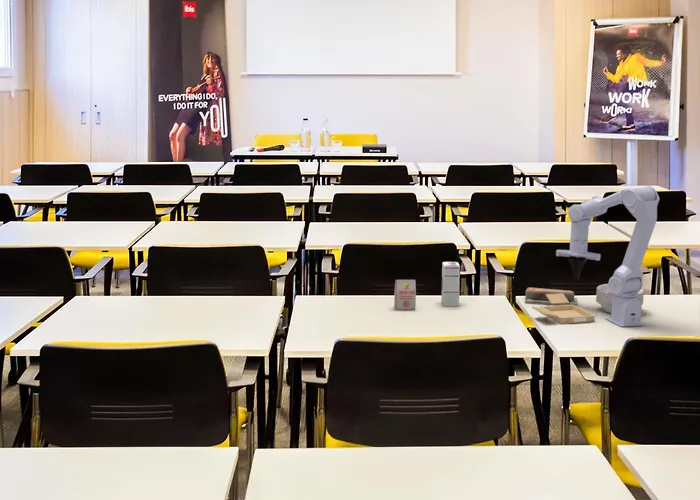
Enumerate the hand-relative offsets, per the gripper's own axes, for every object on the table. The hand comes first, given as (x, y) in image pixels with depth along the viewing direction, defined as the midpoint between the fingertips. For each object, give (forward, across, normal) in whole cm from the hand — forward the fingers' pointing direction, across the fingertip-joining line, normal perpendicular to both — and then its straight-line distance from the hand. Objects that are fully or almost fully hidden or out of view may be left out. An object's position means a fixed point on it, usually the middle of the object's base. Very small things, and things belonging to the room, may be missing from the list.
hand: (576, 278), depth 289 cm
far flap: (+8, -3, -8) cm, 11 cm away
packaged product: (+11, -9, +3) cm, 14 cm away
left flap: (+8, -2, -20) cm, 22 cm away
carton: (+10, +1, -14) cm, 17 cm away
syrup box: (+10, -38, -19) cm, 44 cm away
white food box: (+10, -49, -32) cm, 60 cm away
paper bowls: (+10, +14, +2) cm, 18 cm away
